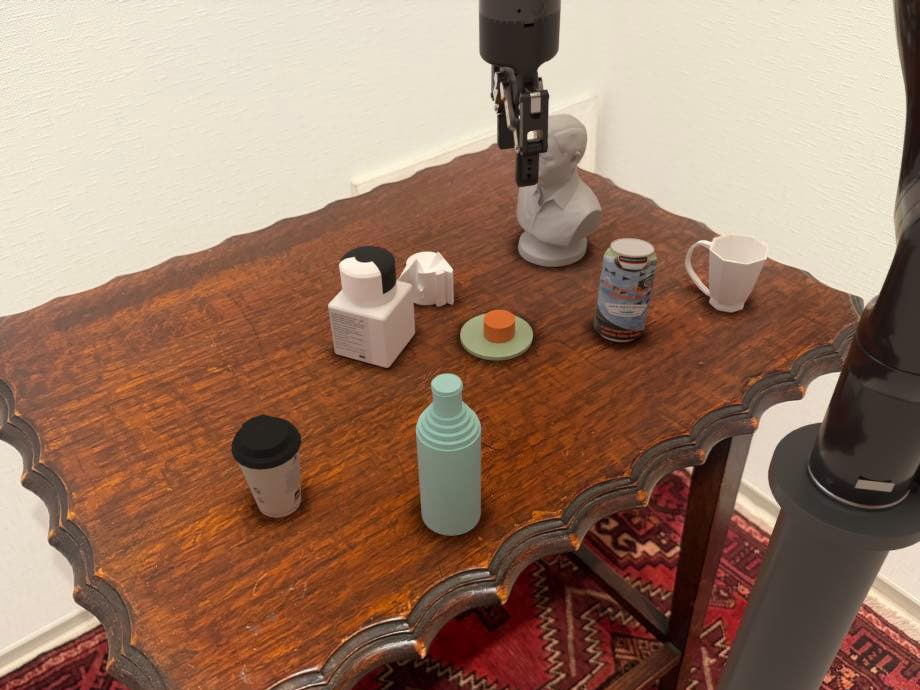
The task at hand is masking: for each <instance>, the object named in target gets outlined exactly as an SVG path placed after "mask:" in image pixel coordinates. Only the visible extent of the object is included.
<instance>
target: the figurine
mask: <svg viewBox="0 0 920 690" xmlns="http://www.w3.org/2000/svg"><path fill="white" fill-rule="evenodd" d="M532 139H534V137H532ZM587 145H588V132H587V129H586V126H585V125H584V124H583V123H582V121H580V120H579V119H578V118H576V116H573V115H572V114H567V113H559V114H553V115H548V150H547V153H539V176H538V183H537V184H536V185H533V186H526V187H519V190H518V195H517V202H516V203H517V205H516V212H515V217H516V219H517V223H518V224H519V226H520V227H521V228H522V230H523V232H522V233H521V234H520V236H519V240H518V245H517V250H518V254H519V255H520V257H521V258H523V259H524V260H525V261H527V262H528V263H530V264H533V265H537V266H540V267H548V268H555V267H556V268H558V267H565V266H569V265H573V264H574V263H577V262H579V261H580V260H582V258H583V257H584V256H585V255H586V252H587V247H588V239H587V237H589V236H590V235H593V233H595V232H597V231H598V230H599V227H600V224H601V222H602V219H603V215H604V214H603V209H602V207H601V204H600V202H599V200H598V197H597V196H596V194H595V193H594V192H593V189H592V188H591V187H590V186H588V185H587V184H586V183H585V182H584V181H583V180H582V179H581V177H580V176H579V173H578V169H577V165H578V164H579V163H580V162H581V161H582V159H583V157H584V156H585V152H586V149H587Z"/></svg>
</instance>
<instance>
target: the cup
mask: <svg viewBox="0 0 920 690" xmlns="http://www.w3.org/2000/svg"><path fill="white" fill-rule="evenodd" d="M698 246H702V247H704V248H706V249H707V250H709V251H708V252H709V253H708V254H709V256H708V287H707V286H706V285H705V284H704V282H703V281H702V280H701V279H700V277H699V276H698V275H697V273H696V272H695V270H694V268H693V267H692V261H691V257H692V254H693V252H694V250H695V248H696V247H698ZM770 248H771V247H770V246H769V245H768V244H766V243H765V242H764V241H762V239H761V240H760V238H758V237H757V236H756V235H755V236H754V235H749V234H742V233H736V232H730V233H727V234H723V235H720V236H719V235H718V236H715V237H713V238H712V241H709V240H705V239H703V240H702V239H701V240H698V241H696V242H695V243H694V244H692V245H691V246H690V247H689V249H688V251H687V252H686V256H685V259H684V265H685V270H686V272H687V275H688V276H689V278H690V279H691V280H692V281H693V283H694V284H695V285H696V286H697V288H698V289H699V290H700V291H701V292H702V293H703V294H704V295H706V296H707V297H709V301H708V304H710V306H711V307H713V308H714V309H715V310H716V311H720V312H725V313H735V312H739V311H741V310H743V309H744V306H745V303H746V301H747V300H748V298H749V297H750V295H751V293H752V292H753V290H754V288H755V286H756V283H757V281H758V279H759V277H760V275H761V272H762V270H763V268H764V266H765V263H766V262H767V259H768V255H769V251H770Z"/></svg>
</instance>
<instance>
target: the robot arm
mask: <svg viewBox="0 0 920 690" xmlns="http://www.w3.org/2000/svg"><path fill="white" fill-rule="evenodd" d="M561 9H562V0H478V48H479V49H478V51H479V56H480V58H481V59H482V60H483V61H484V62H485V63H487V64H488V65H491V68H490V72H491V74H490V76H491V77H490V79H491V80H490V99H491V101H492V102H494V105H493V111H494V112H495V114H496V145H497V147H498V148H499V149H500V150H501V151H502V150H510V149H514V150H515V165H514V166H515V168H514V169H515V170H514V171H515V172H514V173H515V174H514V182H515V184H516V186H517V187H519V188H520V187H526V186H533V185H536V184H537V183H538V176H539V153H547V150H548V116H549V111H550V109H549V107H550V105H549V103H550V93H549V90H548V89H544V82H543V77H542V76H539V72H538V70H539V68H540V67H541V66H542V65H543V64H545V63H547V62H549V61H551V60H552V59H554V58H555V57H556V56H557V54H558V52H559V50H560V49H559V48H560V35H561V34H560V33H561V30H560V29H561V11H562V10H561ZM892 11H893V12H892V13H893V22H894V30H895V31H894V32H895V39H896V47H897V54H898V58H899V64H900V69H901V74H902V80H903V86H904V93H905V120H904V121H905V122H904V123H905V124H904V133H903V141H902V142H903V144H902V152H901V153H902V154H901V161H900V167H899V175H898V182H897V189H896V195H895V201H894V209H893V226H894V239H895V251H894V255H893V258H892V261H891V263H890V265H889V268H888V271H887V274H886V276H885V279H884V281H883V283H882V286H881V289H880V291H879V294H877V295H875V296H874V297H872V298H871V299H870V300H869V301H868V302H867V303H866V305H865V306H864V308H863V311H862V313H861V316H860V319H859V321H858V324H857V326H856V330H855V332H854V335H853V338H852V340H851V342H850V346H849V349H848V351H847V354H846V357H845V359H844V363H843V365H842V368H841V370H840V373H839V376H838V379H837V381H836V384H835V387H834V388H833V391H832V395H831V398H830V400H829V402H828V406H827V408H826V411H825V413H824V417H823V419H822V421H821V422H822V424H821V427H820V430H819V432H818V435H817V438H816V440H815V443H814V446H813V448H812V450H811V452H810V454H809V456H808V459H807V462H806V471H807V475H808V477H809V479H810V481H811V482H812V484H813V485H814V486H815V487H816V488H817V489H818V490H819V491H820V492H821V493H822V494H823V495H825V496H826V497H828V498H829V499H831V500H832V501H834V502H836V503H838V504H841V505H843V506H846V507H849V508H852V509H856V510H862V511H884V510H888V509H892V508H894V507H896V506H898V505H900V504H901V503H902V502H903V501H904V500H905V499H906V498H907V496H908V494H910V493H916V492H917V491H918V489H919V487H920V0H892ZM530 132H533V133H532V134H533V138H534V139H533V138H529V139H528V134H529V133H530Z"/></svg>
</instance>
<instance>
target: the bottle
mask: <svg viewBox="0 0 920 690" xmlns="http://www.w3.org/2000/svg"><path fill="white" fill-rule="evenodd" d="M430 386H431V387H430V389H431V392H432V402H431V403H430V404H429V405H428V406H427V407H426V408H425V409H424V410H423V411H422V413H420V415H419V417H418V420H417V422H416V426H415V436H416V437H415V438H416V452H417V454H416V455H417V467H418V469H417V470H418V483H419V497H420V513H421V519H422V521H423V523H424V525H425V526H426V527H427V528H428V529H430V530H431V531H433V532H434V533H436V534H439V535H443V536H448V537H449V536H451V537H452V536H453V537H454V536H459V535H465V534H466V533H468V532H469V531H471V530H473V529H474V528H475V527H476V526H477V525H478V524H479V522H480V519H481V515H482V423H481V422H480V419H479V417H478V415H477V413H476V412H475V411H474V410H473V409H472V408H470V406H469V405H467V403H466V402H464V401H463V387H464V384H463V381H462V379H461V378H460V377H459V376H458V375H456V374H455V373H441V374H438V375H437V376H435V377H434V378H433V379H432V380H431V383H430Z"/></svg>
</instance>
